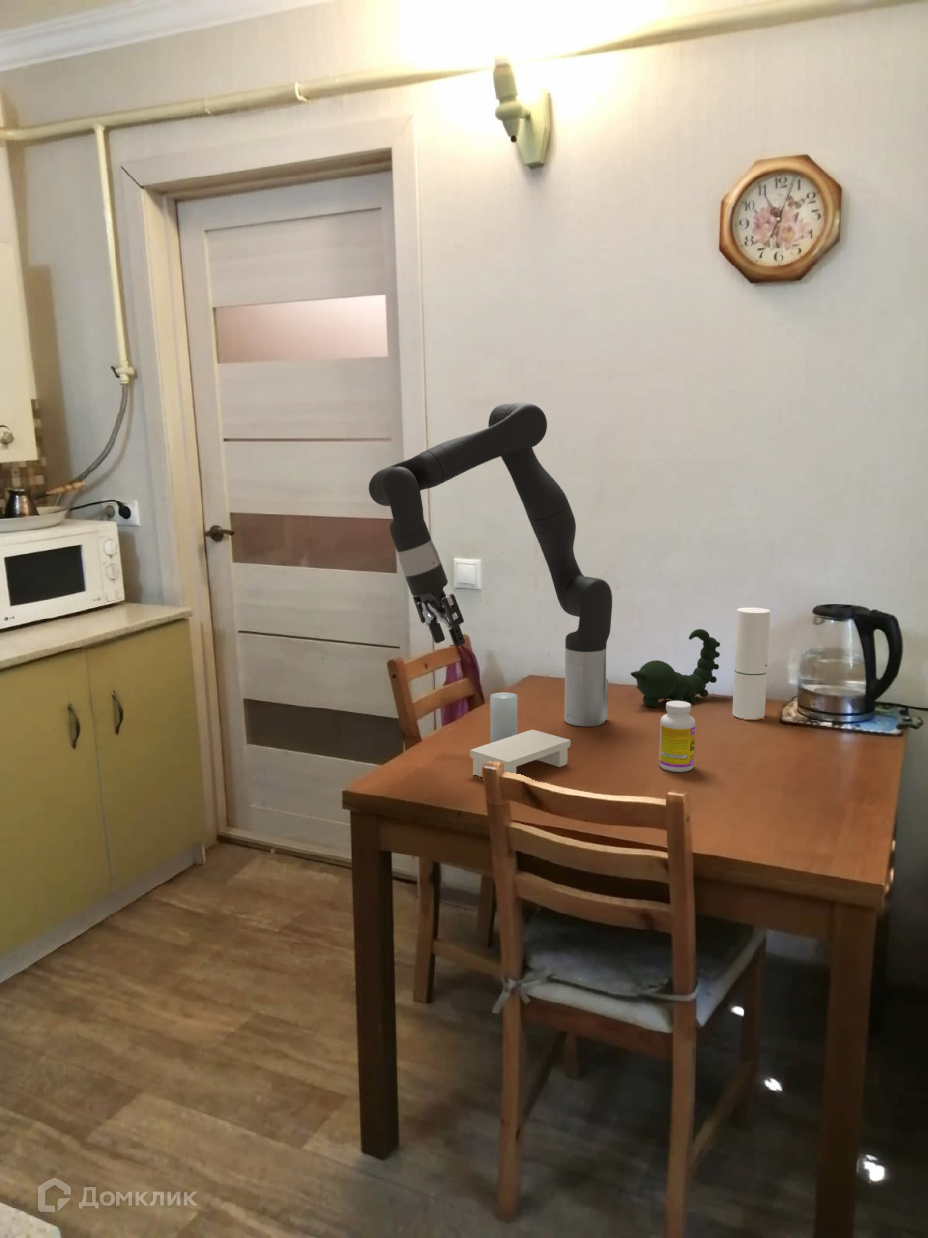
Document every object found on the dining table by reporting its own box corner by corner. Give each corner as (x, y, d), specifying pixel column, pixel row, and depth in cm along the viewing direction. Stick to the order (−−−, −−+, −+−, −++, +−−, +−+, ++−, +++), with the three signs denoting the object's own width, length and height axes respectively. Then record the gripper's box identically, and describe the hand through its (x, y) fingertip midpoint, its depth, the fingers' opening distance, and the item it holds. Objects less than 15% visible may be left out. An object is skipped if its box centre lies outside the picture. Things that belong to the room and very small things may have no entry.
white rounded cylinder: (503, 740, 198) (503, 691, 196) (522, 746, 194) (522, 695, 192) (485, 746, 194) (484, 696, 192) (504, 752, 190) (504, 701, 188)
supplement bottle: (694, 774, 176) (696, 709, 174) (659, 772, 178) (661, 707, 175) (693, 762, 183) (695, 700, 181) (659, 760, 184) (660, 698, 182)
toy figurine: (696, 699, 235) (615, 702, 224) (705, 625, 232) (623, 626, 221) (722, 708, 226) (639, 712, 215) (730, 632, 224) (647, 632, 213)
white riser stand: (532, 752, 190) (532, 729, 189) (570, 764, 183) (570, 740, 182) (470, 774, 177) (470, 750, 176) (508, 788, 170) (508, 762, 169)
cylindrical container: (768, 715, 215) (773, 609, 210) (759, 722, 209) (765, 614, 204) (737, 710, 218) (742, 606, 214) (728, 718, 212) (733, 611, 208)
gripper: (455, 560, 174) (483, 638, 178) (422, 559, 186) (449, 633, 190) (422, 575, 171) (451, 654, 174) (390, 574, 183) (418, 648, 187)
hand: (450, 643), depth 182 cm, fingers open, 8 cm apart
